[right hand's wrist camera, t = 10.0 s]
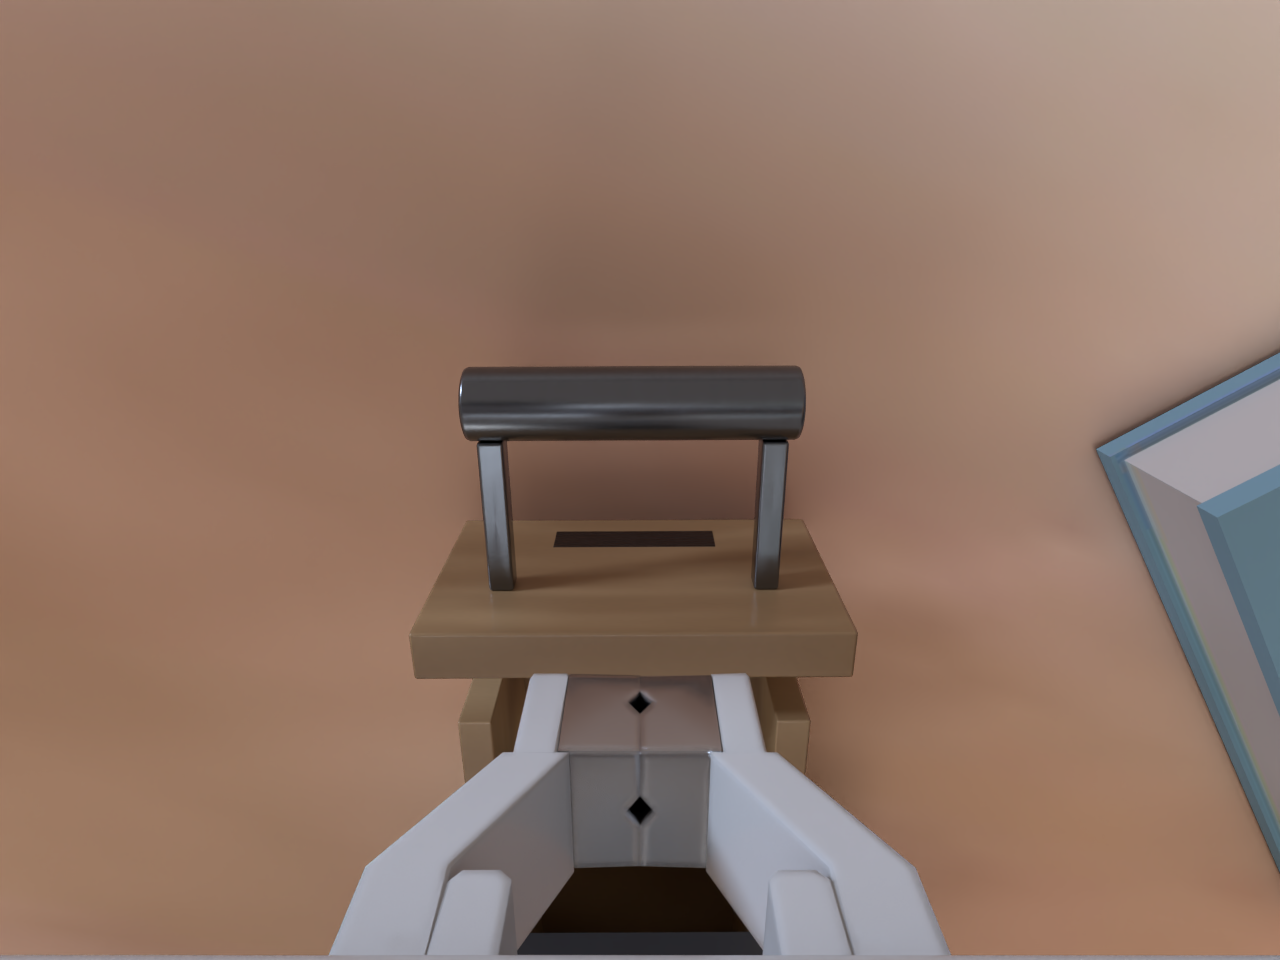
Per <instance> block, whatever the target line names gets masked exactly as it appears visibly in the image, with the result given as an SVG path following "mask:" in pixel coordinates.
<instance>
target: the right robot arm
mask: <svg viewBox="0 0 1280 960" xmlns="http://www.w3.org/2000/svg"><path fill="white" fill-rule="evenodd" d="M624 866H654V867H689V868H706V872H707V873H708V875H709V876H710V877H711V879H712V880H713V882H714V883H715V884H716V886H717V887H718V889H719V890H720V891H721V893H722V894H723V896H724V897H725V898H726V900H727V901H728V902H729V904H730V905H731V907H732V908H733V909H734V911H735V912H736V914H737V915H738V916H739V918H740V919H741V921H742V922H743V923H744V925H745V926H746V927H747V929H748V930H749V932H750V933H751V934H752V936H753V937H754V939H755V940H756V941H757V943H758V944H759V946H760V947H761V948H762V950H763V955H517V950H518V949H519V947H520V946H521V945H522V943H523V942H524V940H525V939H526V938H527V936H528V935H529V934H530V932H531V931H532V929H533V928H534V927H535V925H536V924H537V923H538V921H539V920H540V918H541V917H542V916H543V914H544V913H545V911H546V910H547V909H548V907H549V906H550V905H551V903H552V902H553V900H554V899H555V898H556V896H557V895H558V893H559V892H560V891H561V889H562V888H563V887H564V885H565V884H566V882H567V881H568V880H569V878H570V877H571V876H572V874H573V873H574V868H590V867H624ZM0 960H1280V955H951V954H950V951H949V949H948V946H947V944H946V941H945V939H944V936H943V934H942V931H941V929H940V927H939V924H938V922H937V919H936V917H935V914H934V912H933V909H932V907H931V904H930V902H929V900H928V897H927V895H926V892H925V890H924V887H923V885H922V882H921V880H920V878H919V875H918V873H917V870H916V868H915V867H914V866H913V865H912V864H910V863H909V862H908V861H907V860H906V859H904V858H903V857H902V856H901V855H900V854H898V853H897V852H896V851H895V850H894V849H893V848H891V847H890V846H889V845H888V844H887V843H885V842H884V841H883V840H882V839H881V838H879V837H878V836H877V835H876V834H875V833H873V832H872V831H871V830H870V829H869V828H867V827H866V826H865V825H864V824H863V823H861V822H860V821H859V820H858V819H857V818H855V817H854V816H853V815H852V814H851V813H849V812H848V811H847V810H846V809H845V808H843V807H842V806H841V805H840V804H839V803H837V802H836V801H835V800H834V799H833V798H831V797H830V796H829V795H828V794H827V793H825V792H824V791H823V790H822V789H821V788H819V787H818V786H817V785H816V784H815V783H814V782H812V781H811V780H810V779H809V778H808V777H806V776H805V775H804V774H803V773H802V772H800V771H799V770H798V769H797V768H796V767H794V766H793V765H792V764H791V763H790V762H788V761H787V760H786V759H785V758H784V757H782V756H781V755H780V754H779V753H777V752H767V751H766V747H765V743H764V738H763V734H762V730H761V725H760V721H759V717H758V712H757V708H756V704H755V699H754V695H753V691H752V686H751V682H750V678H749V676H748V675H747V674H746V673H733V674H711V675H682V676H640V675H609V674H570V675H568V674H533V676H532V677H531V679H530V681H529V686H528V690H527V694H526V699H525V703H524V707H523V712H522V716H521V721H520V725H519V729H518V734H517V738H516V742H515V747H514V751H513V752H503V753H501V754H500V755H499V756H498V757H496V758H495V759H494V760H493V761H492V762H490V763H489V764H488V765H487V766H486V767H484V768H483V769H482V770H481V771H480V772H478V773H477V774H476V775H475V776H474V777H472V778H471V779H470V780H469V781H468V782H466V783H465V784H464V785H463V786H462V787H460V788H459V789H458V790H457V791H456V792H454V793H453V794H452V795H451V796H450V797H448V798H447V799H446V800H445V801H444V802H442V803H441V804H440V805H439V806H438V807H436V808H435V809H434V810H433V811H431V812H430V813H429V814H428V815H427V816H425V817H424V818H423V819H422V820H421V821H419V822H418V823H417V824H416V825H415V826H413V827H412V828H411V829H410V830H409V831H407V832H406V833H405V834H404V835H403V836H401V837H400V838H399V839H398V840H397V841H395V842H394V843H393V844H392V845H391V846H389V847H388V848H387V849H386V850H385V851H383V852H382V853H381V854H380V855H379V856H377V857H376V858H375V859H374V860H373V861H371V862H370V863H369V864H368V865H367V866H365V869H364V871H363V873H362V876H361V878H360V881H359V883H358V886H357V888H356V890H355V893H354V895H353V898H352V900H351V902H350V905H349V907H348V910H347V912H346V915H345V917H344V919H343V922H342V924H341V927H340V929H339V931H338V934H337V936H336V939H335V941H334V944H333V946H332V948H331V951H330V953H329V955H0Z"/></svg>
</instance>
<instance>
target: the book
mask: <svg viewBox="0 0 1280 960" xmlns="http://www.w3.org/2000/svg"><path fill="white" fill-rule="evenodd" d="M1096 450H1097V452H1098V455H1099V457H1100V459H1101V462H1102V464H1103V466H1104V469H1105V471H1106V473H1107V476H1108V478H1109V480H1110V482H1111V485H1112V487H1113V489H1114V492H1115V494H1116V496H1117V499H1118V501H1119V503H1120V505H1121V508H1122V510H1123V512H1124V515H1125V517H1126V519H1127V522H1128V524H1129V526H1130V529H1131V531H1132V533H1133V535H1134V538H1135V540H1136V542H1137V545H1138V547H1139V549H1140V552H1141V554H1142V556H1143V559H1144V561H1145V563H1146V565H1147V568H1148V570H1149V572H1150V575H1151V577H1152V579H1153V582H1154V584H1155V586H1156V588H1157V591H1158V593H1159V595H1160V598H1161V600H1162V602H1163V605H1164V607H1165V609H1166V612H1167V614H1168V616H1169V618H1170V621H1171V623H1172V625H1173V628H1174V630H1175V632H1176V635H1177V637H1178V639H1179V641H1180V644H1181V646H1182V648H1183V651H1184V653H1185V655H1186V658H1187V660H1188V662H1189V665H1190V667H1191V669H1192V671H1193V674H1194V676H1195V678H1196V681H1197V683H1198V685H1199V688H1200V690H1201V692H1202V694H1203V697H1204V699H1205V701H1206V704H1207V706H1208V708H1209V711H1210V713H1211V715H1212V718H1213V720H1214V722H1215V724H1216V727H1217V729H1218V731H1219V734H1220V736H1221V738H1222V741H1223V743H1224V745H1225V747H1226V750H1227V752H1228V754H1229V757H1230V759H1231V761H1232V764H1233V766H1234V768H1235V771H1236V773H1237V775H1238V777H1239V780H1240V782H1241V784H1242V787H1243V789H1244V791H1245V794H1246V796H1247V798H1248V800H1249V803H1250V805H1251V807H1252V810H1253V812H1254V814H1255V817H1256V819H1257V821H1258V824H1259V826H1260V828H1261V830H1262V833H1263V835H1264V837H1265V840H1266V842H1267V844H1268V847H1269V849H1270V851H1271V854H1272V856H1273V858H1274V860H1275V863H1276V865H1277V867H1278V870H1279V872H1280V353H1278V354H1276V355H1274V356H1272V357H1270V358H1269V359H1267V360H1265V361H1263V362H1261V363H1259V364H1257V365H1255V366H1253V367H1251V368H1250V369H1248V370H1246V371H1244V372H1242V373H1240V374H1238V375H1236V376H1234V377H1232V378H1231V379H1229V380H1227V381H1225V382H1223V383H1221V384H1219V385H1217V386H1215V387H1213V388H1212V389H1210V390H1208V391H1206V392H1204V393H1202V394H1200V395H1198V396H1196V397H1194V398H1192V399H1191V400H1189V401H1187V402H1185V403H1183V404H1181V405H1179V406H1177V407H1175V408H1173V409H1172V410H1170V411H1168V412H1166V413H1164V414H1162V415H1160V416H1158V417H1156V418H1154V419H1153V420H1151V421H1149V422H1147V423H1145V424H1143V425H1141V426H1139V427H1137V428H1135V429H1134V430H1132V431H1130V432H1128V433H1126V434H1124V435H1122V436H1120V437H1118V438H1116V439H1115V440H1113V441H1111V442H1109V443H1107V444H1105V445H1103V446H1101V447H1099V448H1097V449H1096Z"/></svg>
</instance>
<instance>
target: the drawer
mask: <svg viewBox="0 0 1280 960" xmlns="http://www.w3.org/2000/svg"><path fill="white" fill-rule="evenodd" d="M458 402H459V417H460V423H461V428H462V431H463V434H464V436H465V438H466V439H467V440H470V441H479V442H478V443H477V455H478V466H479V477H480V489H481V500H482V511H483V521H467V522H466V523H465V525H464V527H463V529H462V531H461V533H460V535H459V537H458V539H457V541H456V543H455V545H454V547H453V549H452V551H451V553H450V555H449V557H448V559H447V561H446V563H445V565H444V567H443V569H442V571H441V573H440V575H439V577H438V579H437V581H436V583H435V584H434V586H433V588H432V590H431V592H430V594H429V596H428V598H427V600H426V602H425V604H424V606H423V608H422V610H421V612H420V614H419V616H418V618H417V620H416V622H415V624H414V626H413V628H412V630H411V632H410V634H409V639H410V646H411V654H412V661H413V668H414V675H415V678H417V679H447V678H473V680H472V683H471V686H470V689H469V692H468V695H467V698H466V701H465V704H464V707H463V710H462V713H461V716H460V719H459V722H458V726H459V735H460V744H461V752H462V761H463V770H464V778H465V783H466V782H468V781H469V780H470V779H471V778H472V777H474V776H475V775H476V774H477V773H478V772H480V771H481V770H482V769H483V768H484V767H486V766H487V765H488V764H489V763H490V762H492V761H493V760H494V759H495V758H496V757H498V756H499V755H500V754H501V753H503V752H513V751H514V747H515V742H516V738H517V734H518V729H519V725H520V721H521V716H522V712H523V707H524V703H525V699H526V694H527V690H528V686H529V681H530V679H531V677H532V676H533V674H568V675H570V674H609V675H640V676H682V675H711V674H733V673H746V674H747V675H748V676H749V678H750V682H751V686H752V691H753V695H754V699H755V704H756V708H757V712H758V717H759V721H760V725H761V730H762V734H763V738H764V743H765V747H766V751H767V752H777V753H779V754H780V755H781V756H782V757H784V758H785V759H786V760H787V761H788V762H790V763H791V764H792V765H793V766H794V767H796V768H797V769H798V770H799V771H800V772H802V773H803V774H804V775H805V771H806V761H807V751H808V741H809V731H810V718H809V715H808V712H807V709H806V706H805V703H804V700H803V697H802V693H801V690H800V687H799V684H798V681H797V678H796V677H851V676H852V675H853V669H854V661H855V653H856V645H857V636H858V632H857V630H856V628H855V626H854V624H853V622H852V620H851V618H850V616H849V614H848V612H847V610H846V608H845V606H844V603H843V601H842V599H841V597H840V595H839V593H838V591H837V589H836V587H835V585H834V583H833V581H832V579H831V577H830V575H829V573H828V571H827V569H826V567H825V565H824V562H823V560H822V558H821V556H820V554H819V552H818V550H817V548H816V546H815V544H814V542H813V540H812V538H811V536H810V534H809V532H808V530H807V528H806V526H805V524H804V522H803V520H801V519H783V517H784V503H785V490H786V476H787V462H788V449H789V443H788V441H787V440H795V439H797V438H799V437H800V435H801V432H802V429H803V426H804V420H805V411H806V389H805V381H804V376H803V373H802V370H801V368H800V367H798V366H583V367H468V368H465V369H464V371H463V373H462V376H461V379H460V384H459V399H458ZM596 440H759V448H758V465H757V483H756V500H755V517H754V520H539V521H513V518H512V504H511V491H510V477H509V463H508V450H507V441H596ZM601 932H749V930H748V929H747V927H746V926H745V925H744V923H743V922H742V921H741V919H740V918H739V916H738V915H737V914H736V912H735V911H734V909H733V908H732V907H731V905H730V904H729V902H728V901H727V900H726V898H725V897H724V896H723V894H722V893H721V891H720V890H719V889H718V887H717V886H716V884H715V883H714V882H713V880H712V879H711V877H710V876H709V875H708V873H707V872H706V868H689V867H654V866H624V867H590V868H574V873H573V874H572V876H571V877H570V878H569V880H568V881H567V882H566V884H565V885H564V887H563V888H562V889H561V891H560V892H559V893H558V895H557V896H556V898H555V899H554V900H553V902H552V903H551V905H550V906H549V907H548V909H547V910H546V911H545V913H544V914H543V916H542V917H541V918H540V920H539V921H538V923H537V924H536V925H535V927H534V928H533V929H532V931H531V932H530V933H601Z"/></svg>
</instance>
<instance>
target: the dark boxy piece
mask: <svg viewBox="0 0 1280 960" xmlns="http://www.w3.org/2000/svg"><path fill="white" fill-rule="evenodd" d="M517 955H763V950H762V948H761V947H760V946H759V944H758V943H757V941H756V940H755V939H754V937H753V936H752V934H751V933H750V932H601V933H530V934H529V935H528V936H527V938H526V939H525V940H524V942H523V943H522V945H521V946H520V947H519V949H518V950H517Z"/></svg>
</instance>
